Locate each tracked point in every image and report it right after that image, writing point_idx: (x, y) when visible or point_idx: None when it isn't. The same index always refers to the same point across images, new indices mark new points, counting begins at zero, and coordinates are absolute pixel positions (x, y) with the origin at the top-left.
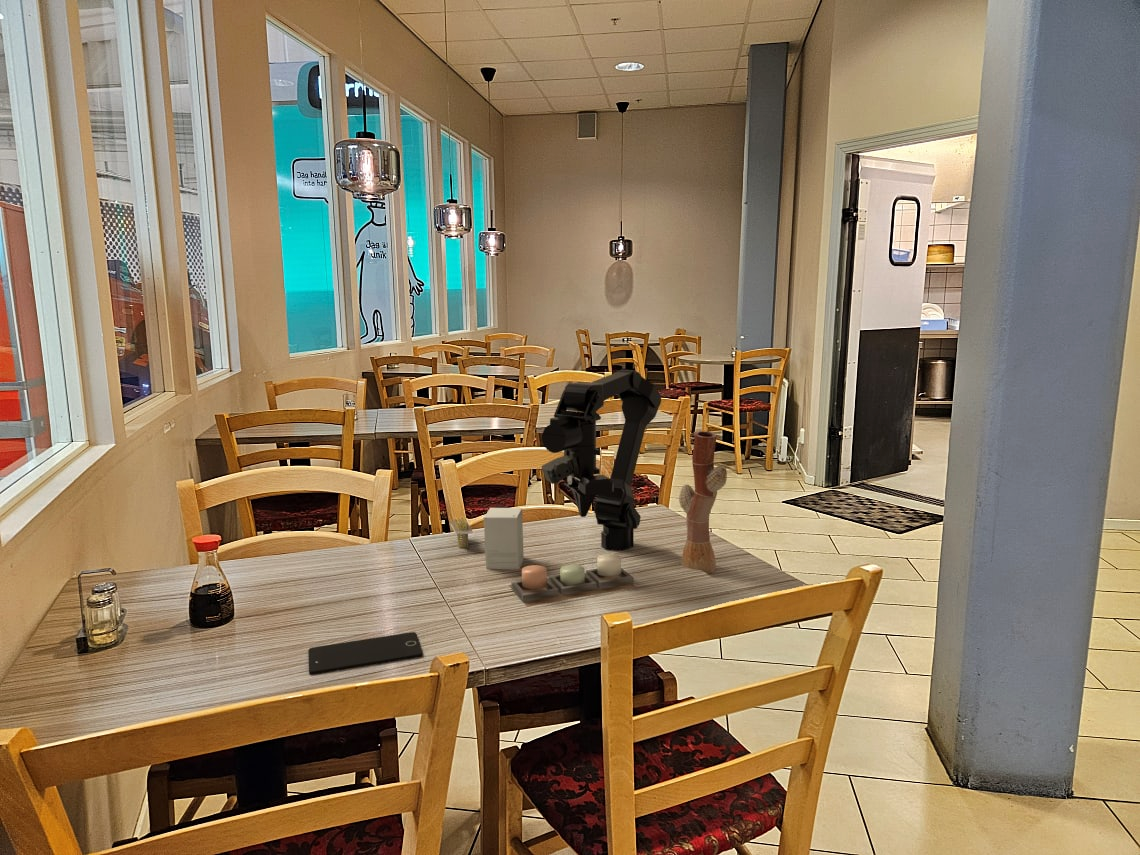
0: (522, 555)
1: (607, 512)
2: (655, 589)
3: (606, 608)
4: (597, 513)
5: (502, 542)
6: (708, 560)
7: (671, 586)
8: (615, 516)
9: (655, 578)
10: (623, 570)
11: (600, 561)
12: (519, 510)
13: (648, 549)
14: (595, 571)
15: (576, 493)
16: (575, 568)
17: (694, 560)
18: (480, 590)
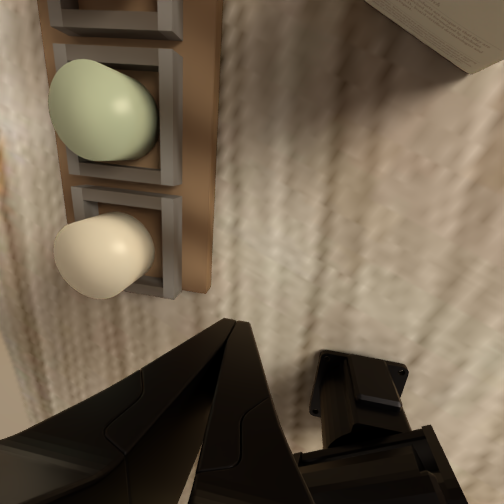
0: (455, 33)
1: (347, 486)
2: (92, 309)
3: (21, 154)
4: (407, 461)
5: None
6: None
7: (97, 344)
8: (306, 480)
9: (147, 346)
10: (132, 289)
11: (75, 222)
12: None
13: (319, 441)
14: (162, 223)
15: (194, 482)
16: (91, 126)
17: None
18: None
